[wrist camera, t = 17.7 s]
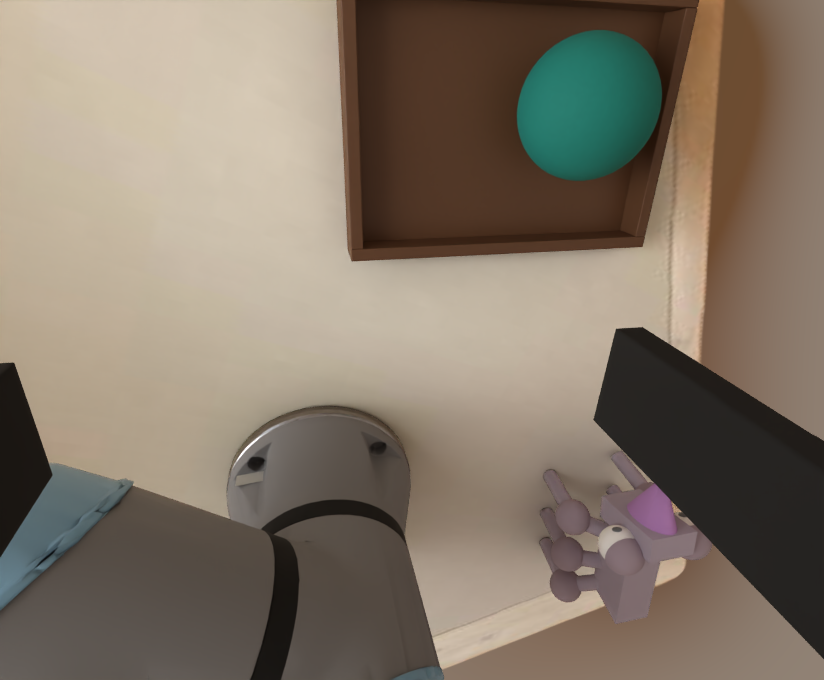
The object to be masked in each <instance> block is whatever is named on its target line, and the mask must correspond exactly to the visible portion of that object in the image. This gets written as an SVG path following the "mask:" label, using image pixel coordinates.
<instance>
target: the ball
mask: <svg viewBox="0 0 824 680" xmlns="http://www.w3.org/2000/svg"><path fill="white" fill-rule="evenodd" d="M661 101H662V88H661V80H660V76H659V73H658V69H657V67H656V65H655V63H654V61H653V59H652V58H651V56H650V55H649V53H648V52H647V51H646V50H645V49H644V48H643V47H642V46H641V45H640V44H639V43H638V42H636V41H635V40H634V39H632V38H630V37H628V36H626V35H624V34H621V33H618V32H614V31H608V30H591V31H585V32H581V33H578V34H575V35H572V36H570V37H568V38H566V39H564V40H562V41H560V42H559V43H557V44H556V45H554V46H553V47H552V48H550V49H549V50H548V51H547V52H546V53H545V54H544V55H543V56H542V57H541V58H540V59H539V60H538V61H537V63H536V64H535V65H534V67H533V68H532V69H531V71H530V73H529V74H528V76H527V78H526V80H525V82H524V85H523V87H522V90H521V93H520V97H519V101H518V108H517V125H518V132H519V136H520V139H521V142H522V145H523V147H524V149H525V150H526V152H527V154H528V155H529V157H530V158H531V159H532V160H533V161H534V163H535V164H536V165H538V166H539V167H540V168H541V169H542V170H544V171H546V172H547V173H549V174H551V175H553V176H555V177H558V178H561V179H565V180H572V181H586V180H593V179H597V178H600V177H604V176H606V175H608V174H611V173H613V172H615V171H616V170H618V169H620V168H622V167H623V166H624V165H626V164H627V163H628V162H629V161H631V160H632V159H633V158H634V157H635V156H636V155H637V154H638V153H639V151H640V150H641V149H642V148H643V147H644V145H645V144H646V142H647V141H648V139H649V138H650V136H651V134H652V132H653V130H654V128H655V126H656V123H657V120H658V117H659V113H660V109H661Z"/></svg>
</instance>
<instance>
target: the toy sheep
mask: <svg viewBox="0 0 824 680" xmlns="http://www.w3.org/2000/svg"><path fill="white" fill-rule="evenodd" d="M611 460H612V461H613V462H614V463H615V465H616V466H617V467H618V469H619V470H620V471H621V472H622V474H623V475H624V476H625V478H626V479H627V480H628V481H629V483H630V484H631V485H632V486H633V488H634V489H635V490H631V491H626V492H622V491H621V490H620V488H619V487H618V486H617V485H613V486H611V487H609V488H608V489H607V491H606V493H607V494H608V495H604V496H602V500H601V511H600V516H601V517H602V518H603V519H604V520H605V522H602V521H600V520H598V519H595V518H593V517H591V516H590V513H589V511H588V509H587V507H586V506H585V505H584V504H583V503H581V502H580V501H577V500H574V499H572V498H571V497H570V495H569V493H568V492H567V490H566V488H565V487H564V485H563V483H562V482H561V480H560V478H559V477H558V475H557V473H556V472H555V471H554V470H548V471H546V472H545V473H544V475H543V478H544V480H545V482H546V483H547V485H548V487H549V489H550V491H551V493H552V494H553V496H554V498H555V500H556V502H557V504H558V507H557V509H556V512H555V514H554V512H553V511H552V509H550V508H545V509H543V510H542V511H541V512H540V515H541V518H542V520H543V522H544V524H545V526H546V528H547V530H548V532H549V534H550V536H551V538H552V540H553V542H554V543H553V542H552V540H551V539H549V538H544V539H542V540H541V541H540V546H541V548H542V550H543V553H544V555H545V557H546V559H547V562H548V564H549V566H550V568H551V571H552V573H553V574H552V575H551V578H550V588H551V591H552V593H553V594H554V595H555V597H556V598H558V599H559V600H561V601H564V602H572V601H575V600H576V599H577V598H578V597H579V596H580V594H581V591H591V590H597V591H598V593H599V595H600V597H601V599H602V600H603V602H604V604H605V606H606V608H607V609H608V611H609V613H610V615H611V617H612V618H613V620H614V622H615V623H616V624H618V623H622V622H627V621H631V620H636V619H640V618H645V617H647V615H648V611H649V607H650V602H651V598H652V594H653V590H654V586H655V581H656V577H657V573H658V569H659V564H660V561H664V560H669V559H674V558H679V557H683V558H685V559H688V560H699V559H702V558H704V557H705V556H707V555H708V553H709V552H710V550H711V547H712V542H711V541H710V540H709V539H708V538H707V537H706V536H705V535H704V534H703V533H702V532H701V531H700V530H699V529H698V528H697V527H696V526H695V525H694V524H693V523H692V522H691V521H690V520H689V519H688V518H687V517H686V515H685V514H684V513H683V512H676V513H674V512H673V508H672V503H671V500H670V499H669V498H668V497H667V496H666V495H665V494H664V493H663V492H662V491H661V490H660V488H659V487H658V486H657V485H656V484H655V483H652V482H647V481H646V479H645V478H644V477H643V476H642V475H641V473H640V472H639V471H638V470H637V469H636V467H635V466H634V465H633V464H632V463H631V461H630V460H629V459H628V458H627V456H626V455H625V454H624V453H623V452H622V451H618V452H616V453H614V454H613V455H612V457H611ZM563 531H564V532H566V533H568V534H570V535H579V534H582V533H584V532H585V531H586V532H589V533H591V534H593V535H595V536H598V537H599V538H598V553H597V552H591V551H585V550H583V548H582V546H581V545H580V544H579V543H578V542H577V541H576V540H575V539H573V538H571V537H566V535H565V533H564V532H563ZM581 566H586V567H592V568H595V574H591V575H582V576H578V575H577V574H576V573H575V572H574V571H575V570H577V569H579V568H580V567H581Z"/></svg>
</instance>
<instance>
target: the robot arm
mask: <svg viewBox="0 0 824 680" xmlns="http://www.w3.org/2000/svg"><path fill="white" fill-rule="evenodd" d="M594 421H595V422H596V423H597V424H598V425H599V426H600V427H601V428H602V429H603V430H604V431H605V432H606V433H607V435H608V436H609V437H610V438H611V439H612V440H613V441H614V442H615V443H616V444H617V445H618V446H619V447H620V448H621V449H622V450H623V451H624V452H625V453H626V454H627V455H628V456H629V457H630V458H631V459H632V460H633V461H634V463H635V464H636V465H637V466H638V467H639V468H640V469H641V470H642V471H643V472H644V473H645V474H646V475H647V476H648V477H649V478H650V479H651V480H652V481H653V482H654V483H655V484H656V485H657V486H658V487H659V488H660V490H661V491H662V492H663V493H664V494H665V495H666V496H667V497H668V498H669V499H670V500H671V501H672V502H673V503H674V504H675V505H676V506H677V507H678V508H679V509H680V510H681V511H682V512H683V513H684V514H685V515H686V517H687V518H688V519H689V520H690V521H691V522H692V523H693V524H694V525H695V526H696V527H697V528H698V529H699V530H700V531H701V532H702V533H703V534H704V535H705V536H706V537H707V538H708V539H709V540H710V541H711V542H712V543H713V544H714V546H716V548H717V549H719V551H720V552H721V553H722V554H723V555H724V556H725V557H726V558H727V559H728V560H729V561H730V562H731V563H732V564H733V565H734V566H735V567H736V568H737V569H738V570H739V571H740V573H741V574H742V575H743V576H744V577H745V578H746V579H747V580H748V581H749V582H750V583H751V584H752V585H753V586H754V587H755V588H756V589H757V590H758V591H759V592H760V593H761V594H762V595H763V596H764V597H765V598H766V600H767V601H768V602H769V603H770V604H771V605H772V606H773V607H774V608H775V609H776V610H777V611H778V612H779V613H780V614H781V615H782V616H783V617H784V618H785V619H786V620H787V621H788V622H789V623H790V624H791V625H792V627H793V628H794V629H795V630H796V631H797V632H798V633H799V634H800V635H801V636H802V637H803V638H804V639H805V640H806V641H807V642H808V643H809V644H810V645H811V646H812V647H813V648H814V649H815V650H816V651H817V652H818V653H819V655H821V657H822V658H823V659H824V441H823V440H821V439H820V438H818V437H817V436H814V435H812V434H811V433H809V432H807V431H806V430H804V429H803V428H801V427H800V426H798V425H796V424H795V423H793V422H792V421H790V420H788V419H787V418H785V417H784V416H782V415H780V414H779V413H777V412H776V411H774V410H773V409H771V408H769V407H767V406H766V405H765V404H763V403H761V402H760V401H758V400H757V399H755V398H754V397H752V396H750V395H749V394H747V393H746V392H744V391H743V390H741V389H739V388H738V387H736V386H735V385H733V384H731V383H730V382H728V381H727V380H725V379H723V378H722V377H720V376H719V375H717V374H716V373H714V372H712V371H711V370H709V369H708V368H706V367H705V366H703V365H701V364H700V363H698V362H697V361H695V360H693V359H692V358H690V357H689V356H687V355H686V354H684V353H682V352H681V351H679V350H678V349H676V348H674V347H673V346H671V345H670V344H668V343H667V342H665V341H663V340H662V339H660V338H659V337H657V336H655V335H654V334H652V333H651V332H649V331H648V330H646V329H644V328H643V327H640V328H622V329H616V331H615V335H614V339H613V343H612V347H611V351H610V355H609V359H608V364H607V368H606V372H605V376H604V380H603V384H602V388H601V392H600V396H599V400H598V404H597V408H596V412H595V416H594ZM133 483H134V482H133V481H130V480H127V479H121V480H118V481H117V480H114V479H110V478H107V477H103V476H100V475H96V474H93V473H89V472H86V471H82V470H79V469H75V468H72V467H68V466H65V465H61V464H57V463H49V462H48V460H47V457H46V454H45V451H44V448H43V445H42V442H41V439H40V436H39V433H38V431H37V428H36V425H35V422H34V419H33V416H32V413H31V410H30V407H29V404H28V402H27V399H26V396H25V393H24V390H23V387H22V384H21V381H20V378H19V375H18V373H17V370H16V367H15V364H14V363H0V680H444V675H443V672H442V669H441V668H440V665H439V661H438V657H437V654H436V650H435V646H434V643H433V639H432V635H431V632H430V628H429V624H428V621H427V617H426V613H425V610H424V606H423V602H422V598H421V595H420V591H419V587H418V584H417V580H416V576H415V573H414V569H413V565H412V562H411V558H410V554H409V551H408V548H407V544H406V540H405V535H404V534H405V526H406V519H407V511H408V504H409V496H410V488H411V479H410V469H409V464H408V461H407V458H406V454H405V451H404V448H403V446H402V444H401V442H400V440H399V439H398V437H397V436H396V435H395V433H394V432H393V431H392V430H391V429H390V428H389V427H388V426H387V425H385V424H384V423H383V422H381V421H380V420H378V419H377V418H375V417H373V416H371V415H369V414H366V413H364V412H361V411H358V410H354V409H350V408H345V407H336V406H319V407H310V408H304V409H300V410H296V411H293V412H289V413H286V414H284V415H282V416H279V417H277V418H275V419H273V420H271V421H269V422H268V423H266V424H265V425H263V426H262V427H260V428H259V429H258V430H256V431H255V432H254V433H253V434H252V435H251V436H250V437H248V439H247V440H246V441H245V442H244V443H243V444H242V446H241V447H240V449H239V450H238V452H237V454H236V455H235V457H234V459H233V462H232V464H231V468H230V472H229V478H228V484H227V506H228V512H229V516H230V519H228V518H225V517H222V516H219V515H216V514H213V513H210V512H208V511H205V510H202V509H199V508H196V507H193V506H190V505H187V504H184V503H181V502H179V501H176V500H173V499H170V498H167V497H164V496H161V495H158V494H155V493H152V492H150V491H147V490H144V489H141V488H138V487H135V486H132V485H133Z"/></svg>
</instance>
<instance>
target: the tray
mask: <svg viewBox="0 0 824 680" xmlns="http://www.w3.org/2000/svg"><path fill="white" fill-rule="evenodd" d="M698 3H699V0H337V18H338V40H339V63H340V85H341V107H342V129H343V151H344V174H345V196H346V218H347V240H348V251H349V255H350V257H351V260H352V261H369V260H389V259H409V258H429V257H449V256H469V255H489V254H509V253H529V252H549V251H569V250H589V249H610V248H630V247H642V246H643V242H644V238H645V237H644V236H645V234H646V229H647V225H648V221H649V216H650V212H651V208H652V203H653V199H654V195H655V190H656V186H657V182H658V177H659V173H660V169H661V164H662V160H663V156H664V151H665V147H666V143H667V138H668V134H669V130H670V125H671V121H672V117H673V112H674V108H675V104H676V99H677V95H678V91H679V86H680V82H681V78H682V73H683V69H684V65H685V60H686V56H687V52H688V47H689V43H690V39H691V35H692V30H693V26H694V22H695V17H696V13H697V7H698ZM591 30H608V31H614V32H618V33H621V34H624V35H626V36H628V37H630V38H632V39H634V40H635V41H636V42H638V43H639V44H640V45H641V46H642V47H643V48H644V49H645V50H646V51H647V52H648V53H649V55H650V56H651V58H652V59H653V61H654V63H655V65H656V67H657V69H658V73H659V76H660V80H661V88H662V101H661V109H660V113H659V117H658V120H657V123H656V126H655V128H654V130H653V132H652V134H651V136H650V138H649V139H648V141H647V142H646V144H645V145H644V147H643V148H642V149H641V150H640V151H639V153H638V154H637V155H636V156H635V157H634V158H633V159H632V160H631V161H629V162H628V163H627V164H626V165H624V166H623V167H622V168H620V169H618V170H616V171H615V172H613V173H611V174H608V175H606V176H604V177H600V178H597V179H593V180H586V181H572V180H565V179H561V178H558V177H555V176H553V175H551V174H549V173H547V172H546V171H544V170H542V169H541V168H540V167H539V166H538V165H536V164H535V163H534V161H533V160H532V159H531V158H530V157H529V155H528V154H527V152H526V150H525V149H524V147H523V145H522V142H521V139H520V136H519V132H518V125H517V108H518V101H519V97H520V93H521V90H522V87H523V85H524V82H525V80H526V78H527V76H528V74H529V73H530V71H531V69H532V68H533V67H534V65H535V64H536V63H537V61H538V60H539V59H540V58H541V57H542V56H543V55H544V54H545V53H546V52H547V51H548V50H549V49H550V48H552V47H553V46H554V45H556V44H557V43H559V42H560V41H562V40H564V39H566V38H568V37H570V36H572V35H575V34H578V33H581V32H585V31H591Z"/></svg>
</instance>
